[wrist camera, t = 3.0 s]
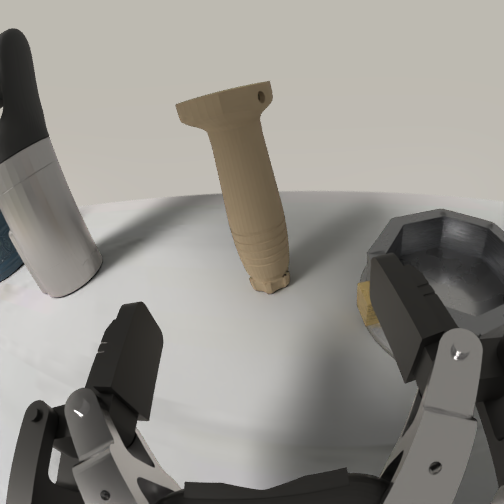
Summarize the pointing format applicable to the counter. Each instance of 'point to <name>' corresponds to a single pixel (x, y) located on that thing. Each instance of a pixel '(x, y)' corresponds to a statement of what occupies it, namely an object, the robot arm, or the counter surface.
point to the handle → (245, 178)
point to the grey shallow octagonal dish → (446, 268)
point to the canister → (7, 251)
